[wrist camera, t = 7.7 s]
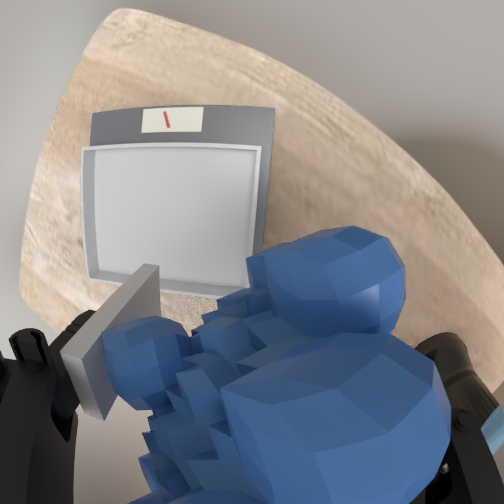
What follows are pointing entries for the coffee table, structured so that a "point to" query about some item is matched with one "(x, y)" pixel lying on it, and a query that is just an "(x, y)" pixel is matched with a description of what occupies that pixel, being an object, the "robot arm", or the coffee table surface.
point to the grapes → (288, 385)
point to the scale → (176, 195)
